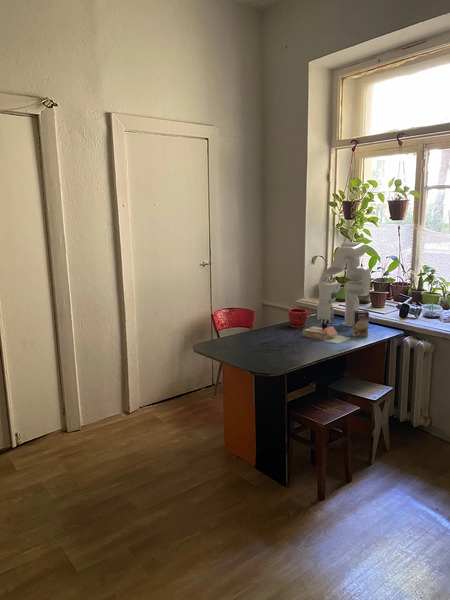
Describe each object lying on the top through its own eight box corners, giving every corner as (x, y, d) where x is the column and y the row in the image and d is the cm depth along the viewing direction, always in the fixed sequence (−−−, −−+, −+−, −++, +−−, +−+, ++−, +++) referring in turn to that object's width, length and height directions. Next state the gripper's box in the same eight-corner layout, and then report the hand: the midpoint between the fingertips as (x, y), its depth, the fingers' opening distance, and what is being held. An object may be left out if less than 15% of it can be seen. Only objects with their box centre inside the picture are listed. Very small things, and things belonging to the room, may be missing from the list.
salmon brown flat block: (330, 327, 290) (332, 325, 289) (335, 335, 288) (337, 333, 287) (322, 329, 284) (324, 328, 283) (327, 337, 282) (330, 335, 281)
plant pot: (287, 328, 314) (287, 311, 312) (290, 323, 327) (290, 307, 324) (305, 329, 311) (306, 312, 308) (308, 324, 323) (308, 308, 321)
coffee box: (353, 336, 289) (354, 312, 286) (351, 334, 296) (352, 310, 293) (368, 336, 288) (369, 312, 285) (366, 334, 295) (367, 310, 292)
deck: (314, 331, 303) (314, 326, 303) (335, 335, 292) (335, 329, 292) (302, 336, 294) (302, 330, 293) (323, 340, 283) (323, 334, 282)
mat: (336, 335, 293) (336, 335, 293) (350, 338, 286) (351, 337, 286) (323, 340, 282) (323, 340, 282) (338, 343, 274) (338, 343, 274)
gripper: (338, 302, 283) (337, 330, 287) (318, 299, 294) (317, 326, 297) (332, 304, 278) (331, 332, 281) (311, 301, 288) (311, 328, 292)
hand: (324, 329), depth 289 cm, fingers closed
